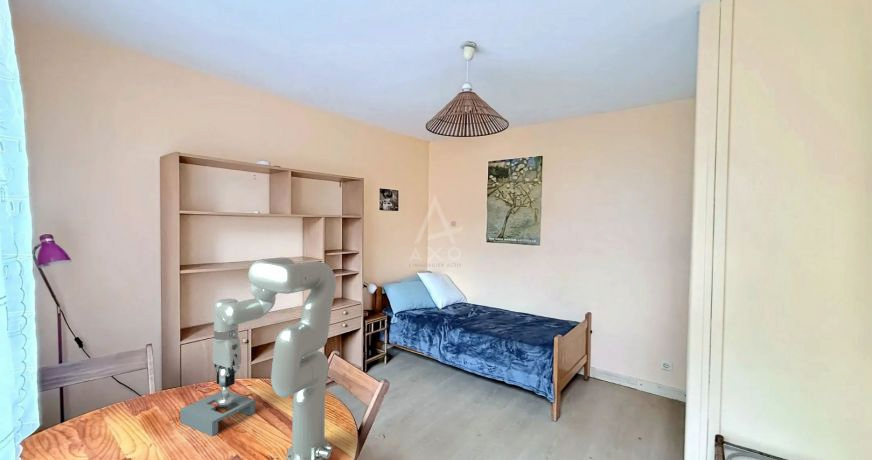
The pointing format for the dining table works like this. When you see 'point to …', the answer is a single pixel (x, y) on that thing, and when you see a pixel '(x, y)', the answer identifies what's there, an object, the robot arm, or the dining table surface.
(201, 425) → the keyhole plate
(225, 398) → the steel peg
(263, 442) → the dining table surface
